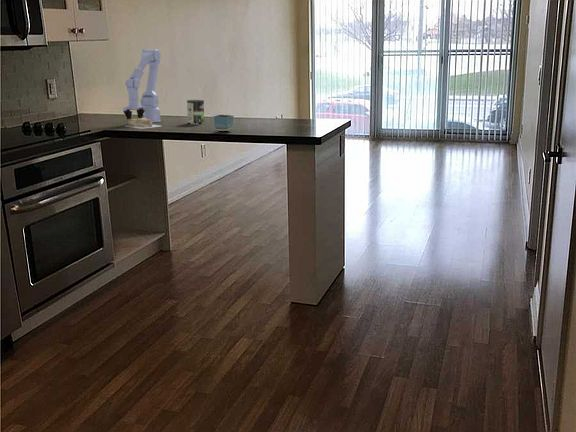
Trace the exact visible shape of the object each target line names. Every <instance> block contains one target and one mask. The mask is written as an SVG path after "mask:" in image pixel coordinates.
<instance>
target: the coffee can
mask: <svg viewBox="0 0 576 432" xmlns="http://www.w3.org/2000/svg"><path fill="white" fill-rule="evenodd" d="M186 102H187V103H186V105H187V106H186V107H187V124H188V123H203V122H204V123H205V106H204V105H205V104H204V103H205V100H204V99H188V100H186Z"/></svg>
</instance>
